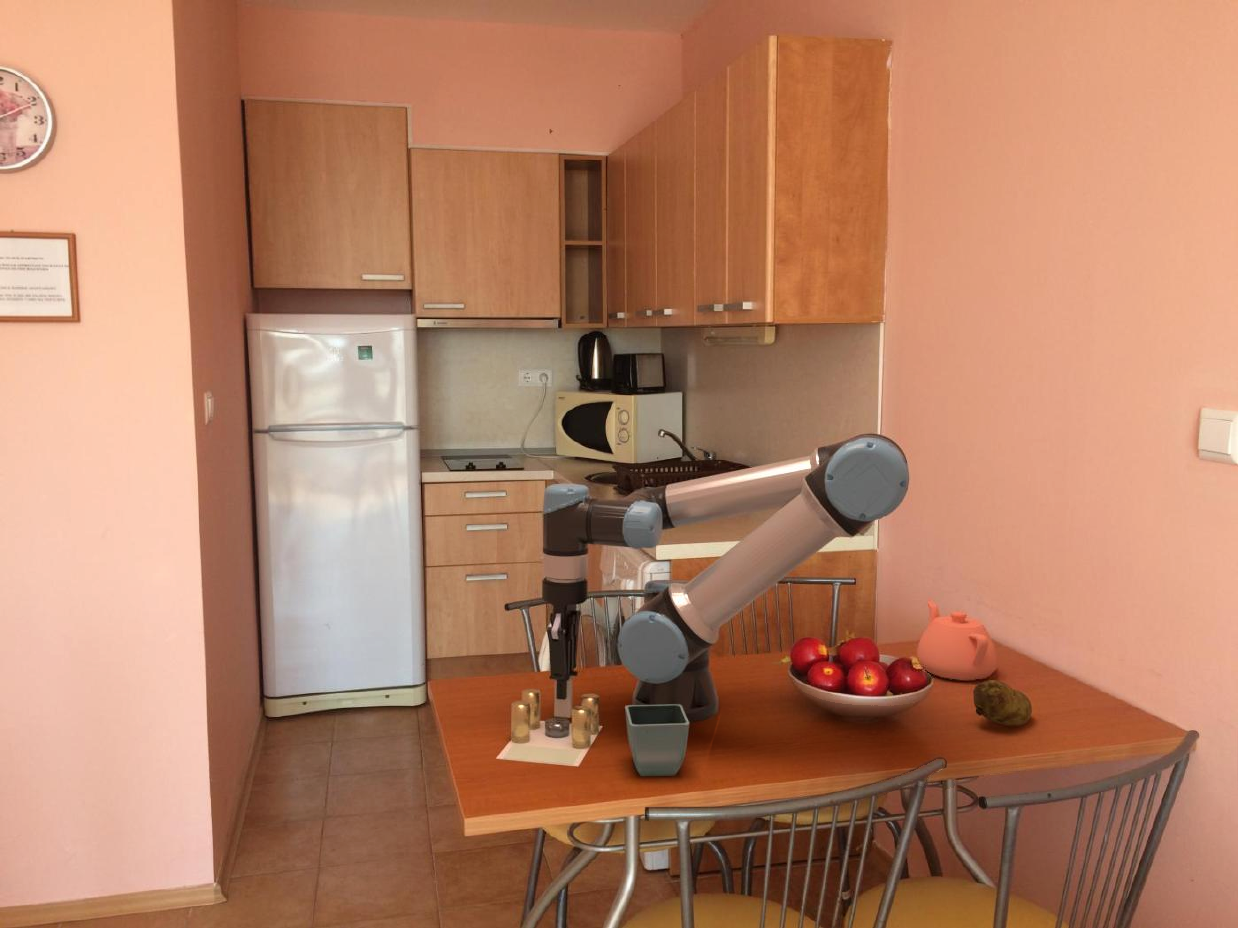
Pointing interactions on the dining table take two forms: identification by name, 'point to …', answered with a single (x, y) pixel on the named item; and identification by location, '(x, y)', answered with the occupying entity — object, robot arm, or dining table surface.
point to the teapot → (956, 646)
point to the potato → (1001, 703)
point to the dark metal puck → (557, 727)
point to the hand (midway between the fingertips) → (563, 715)
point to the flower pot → (657, 738)
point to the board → (546, 749)
